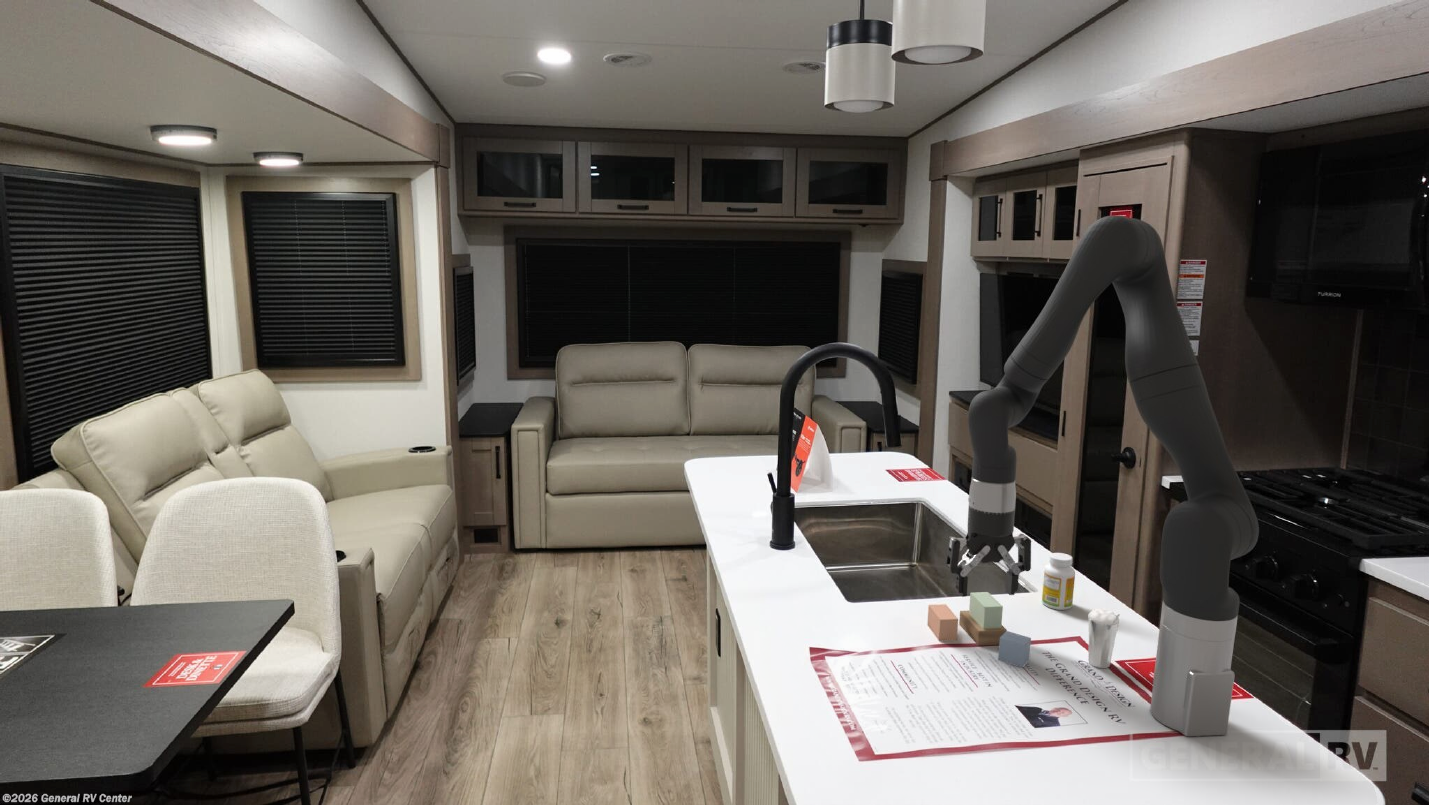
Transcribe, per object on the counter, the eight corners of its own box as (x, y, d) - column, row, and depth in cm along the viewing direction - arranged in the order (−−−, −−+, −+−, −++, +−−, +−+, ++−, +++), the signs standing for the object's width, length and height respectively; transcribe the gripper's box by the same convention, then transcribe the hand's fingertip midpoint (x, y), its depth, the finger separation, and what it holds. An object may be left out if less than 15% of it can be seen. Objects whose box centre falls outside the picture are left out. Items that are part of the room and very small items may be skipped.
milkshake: (1100, 674, 134) (1106, 616, 132) (1077, 658, 139) (1083, 602, 137) (1124, 671, 135) (1130, 613, 133) (1100, 655, 140) (1106, 599, 139)
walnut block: (1005, 646, 144) (1006, 630, 144) (977, 647, 144) (978, 631, 143) (985, 625, 152) (986, 609, 151) (959, 626, 151) (960, 611, 151)
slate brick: (1029, 660, 139) (1030, 637, 138) (1022, 668, 136) (1024, 645, 135) (1004, 653, 141) (1006, 630, 140) (998, 660, 139) (999, 637, 138)
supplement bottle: (1067, 599, 162) (1071, 551, 161) (1075, 611, 157) (1080, 562, 155) (1038, 598, 163) (1042, 550, 161) (1046, 610, 158) (1050, 561, 156)
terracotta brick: (956, 640, 145) (958, 619, 145) (938, 641, 145) (940, 619, 144) (944, 625, 151) (946, 604, 151) (927, 625, 151) (928, 604, 150)
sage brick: (1001, 628, 144) (1002, 606, 143) (983, 629, 144) (984, 607, 143) (986, 613, 150) (987, 592, 149) (969, 613, 150) (970, 592, 149)
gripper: (959, 512, 139) (954, 604, 142) (1042, 509, 140) (1035, 601, 143) (943, 499, 146) (938, 587, 149) (1022, 497, 147) (1016, 584, 150)
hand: (986, 594), depth 146 cm, fingers open, 8 cm apart
